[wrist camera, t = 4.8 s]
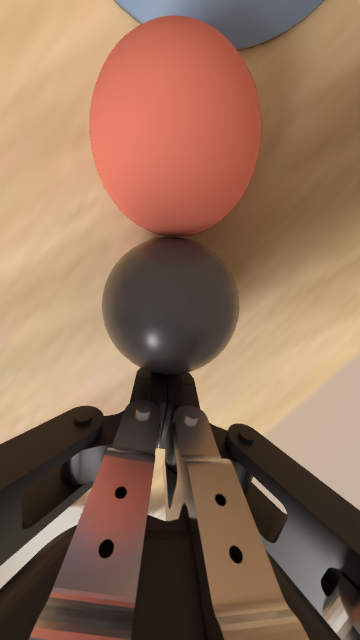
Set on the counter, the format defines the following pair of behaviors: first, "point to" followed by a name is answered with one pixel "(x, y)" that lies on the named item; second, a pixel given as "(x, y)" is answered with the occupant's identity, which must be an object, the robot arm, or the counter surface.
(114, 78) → the red ball
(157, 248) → the dark gray ball
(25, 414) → the counter surface
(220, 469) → the robot arm
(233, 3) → the blue-grey flat disc
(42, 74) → the counter surface
